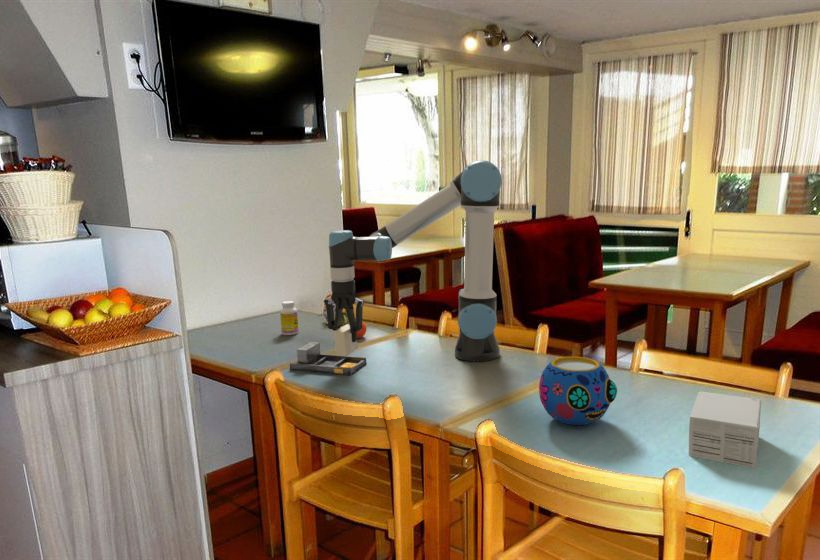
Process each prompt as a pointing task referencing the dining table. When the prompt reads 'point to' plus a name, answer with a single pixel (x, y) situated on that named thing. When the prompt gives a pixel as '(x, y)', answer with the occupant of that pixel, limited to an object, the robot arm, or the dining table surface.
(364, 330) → the clementine
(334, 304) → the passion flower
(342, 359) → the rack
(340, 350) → the cream rectangular block
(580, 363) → the ceramic pot
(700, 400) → the supplement box
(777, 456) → the dining table surface
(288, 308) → the supplement bottle
